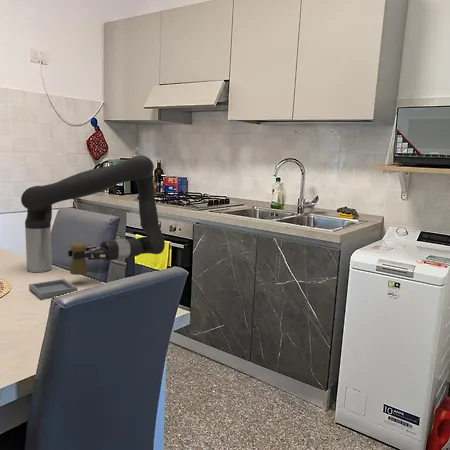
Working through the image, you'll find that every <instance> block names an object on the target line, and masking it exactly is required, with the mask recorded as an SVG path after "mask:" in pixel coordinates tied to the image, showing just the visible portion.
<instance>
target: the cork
mask: <svg viewBox="0 0 450 450" xmlns="http://www.w3.org/2000/svg"><path fill="white" fill-rule="evenodd" d="M86 246H87V245H86V243H85V242H80V241H79V242H77V241H76V242H73V243H71V246H70V250H72V252H73V253H78V252H85V250H86ZM69 273H70V274H71V275H74V276H81V275H85V274H87V273H88V267H87V259H84V258H83V259H73V254H72V256H71V262H70V271H69Z"/></svg>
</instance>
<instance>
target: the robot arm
mask: <svg viewBox="0 0 450 450" xmlns="http://www.w3.org/2000/svg"><path fill="white" fill-rule="evenodd" d="M154 168H155V167H154V163H153V161H152V160H151V159H150V158H149V157H148V156H146V155H142V154H141V155H136V156H133V157H131V158H129V159H127V160H124V161H122V162H120V163H116V164H112V165H108V166H103V167H97V168H96V167H95V168H93V169H89V170H86V171H82V172H79V173H76V174H73V175H70V176H69V177H65V178H64V179H62V180H59V181H57V182H53V183H50V184H45V185H34V186H31V187H28V188H27V189H26V190H25V191H23V193H22V195H21V197H20V202H21V204H22V206H23V207H24V208H25V209H27V212H26V214H27V215H26V217H25V221H24V227H25V228H24V229H25V252H26V254H25V255H26V257H25V258H26V271H27V272H29V273H42V272H43V273H44V272H48V271H51V270H52V269H53V263H52V257H53V256H52V229H51V228H52V225H51V224H52V223H51V222H52V216H53V213H52V212H53V205H54V204H57V203H60V202H64V201H68V200H75V199H78V198H79V199H80V198H84V197H87V196H91V195H94V194H99V193H101V192H103V191H104V192H105V191H106V190H108V189H110V188H113V187H115V186H117V185H119V184H120V185H121V184H122V183H126V182H131V181H135V183H136V184H135V185H136V187H137V193H138V194H137V196H138V211H139V220H140V225H141V226H140V227H141V229H142V231H143V232H145V233H146V236H142V237H138V238H127V239H122V238H121V239H120V238H119V239H110V240H109V239H108V240H103V241H101V243H100V245H91V244H88V245H86V250H85V252H78V253H73V252H72V250H71V249H70V250H67V251H68V252H67V255H68V257H71V258H72V254H73V259H83V258H84V259H86V260H87V259H88V261H92V260H93V261H94V260H103V261H106V262H108V261H115V260H120V259H121V260H123V259H126V258H133V257H137V256H140V255H142V254H143V255H144V254H151V255H159V254H162V253H163V252H164V249H165V247H166V241H165V237H164V235H163V231H162V229H161V227H160V223H159V216H158V209H157V205H156V204H157V203H156V198H155V193H154V191H155V190H154Z"/></svg>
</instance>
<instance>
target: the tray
mask: <svg viewBox="0 0 450 450" xmlns="http://www.w3.org/2000/svg"><path fill="white" fill-rule="evenodd" d="M28 289H29V291H30V292H31V293H32V294H33V295H35V296H36V297H37V298H38V299H39V300H47V299H48V300H49V299H53V298H52V297H54V296H59V297H61V296H60V295H64V294H67V293H71V292H74V291H77V292H78V287H77V286H76V285H74V284H73V283H71V282H70V281H68V280H66V279H65V278H61V279H55V280H49V281H43V282H36V283H30V284H28ZM54 298H55V297H54Z"/></svg>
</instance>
